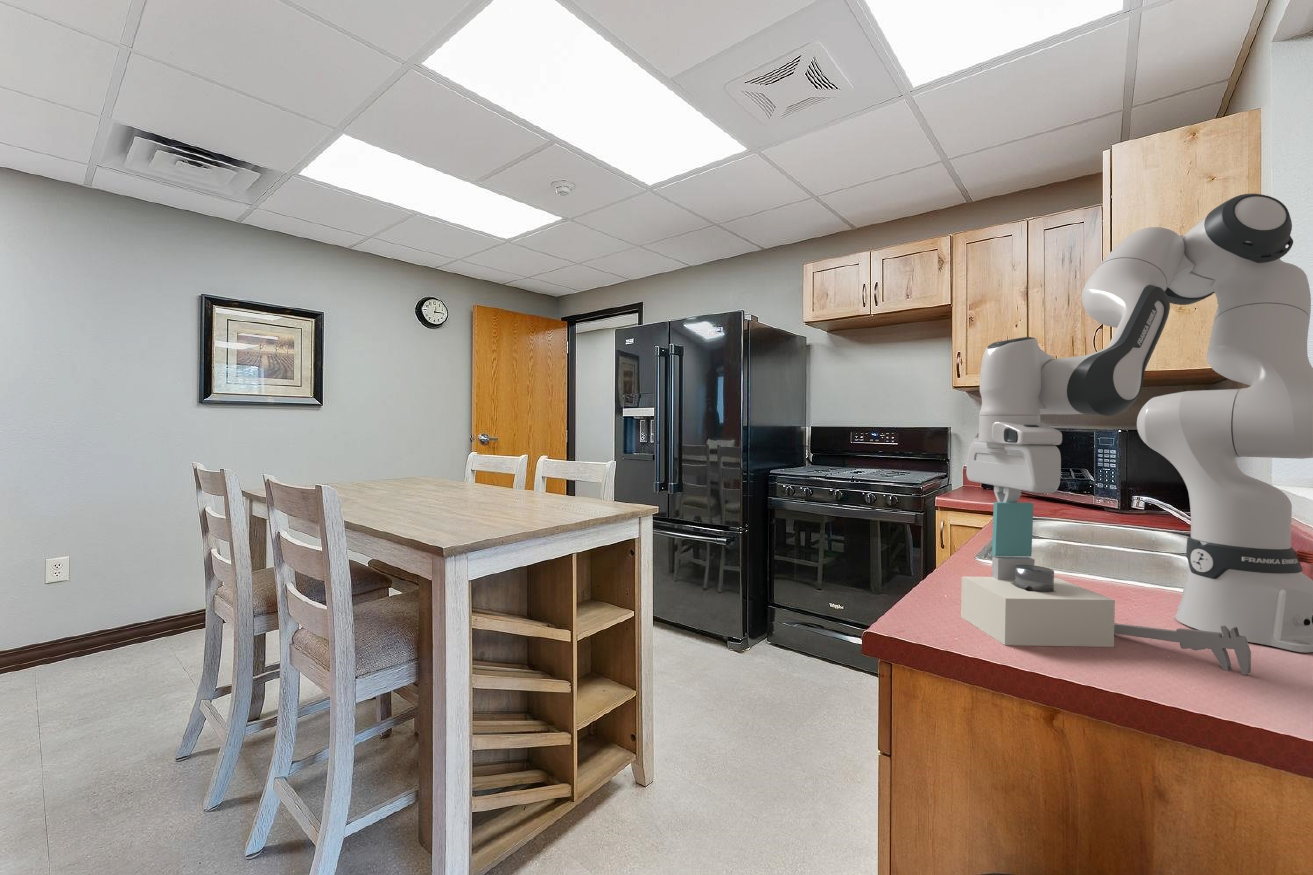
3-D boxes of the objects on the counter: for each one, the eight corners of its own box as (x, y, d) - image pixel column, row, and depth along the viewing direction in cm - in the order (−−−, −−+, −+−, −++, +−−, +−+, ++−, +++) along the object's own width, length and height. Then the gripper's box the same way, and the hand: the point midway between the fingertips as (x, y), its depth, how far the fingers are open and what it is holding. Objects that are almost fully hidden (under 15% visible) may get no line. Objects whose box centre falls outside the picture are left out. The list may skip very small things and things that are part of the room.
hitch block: (1055, 618, 93) (1057, 557, 92) (1113, 646, 81) (1115, 576, 80) (961, 617, 93) (962, 555, 93) (1004, 645, 81) (1006, 574, 81)
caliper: (1250, 677, 72) (1252, 629, 72) (1247, 678, 71) (1248, 631, 71) (1077, 625, 90) (1077, 588, 90) (1073, 626, 90) (1074, 588, 90)
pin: (1038, 622, 89) (1039, 564, 89) (1061, 634, 84) (1062, 573, 84) (1006, 621, 89) (1007, 564, 89) (1027, 633, 84) (1028, 572, 84)
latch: (1031, 556, 91) (1027, 554, 92) (1033, 503, 91) (1029, 502, 92) (995, 555, 92) (991, 554, 93) (997, 502, 91) (993, 502, 92)
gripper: (957, 432, 103) (956, 504, 104) (1028, 433, 83) (1026, 523, 83) (991, 432, 103) (989, 504, 104) (1070, 433, 83) (1068, 524, 83)
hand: (1006, 513), depth 93 cm, fingers closed
